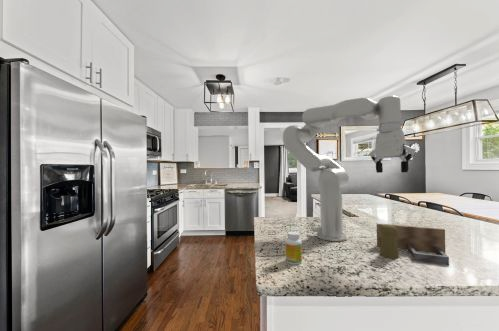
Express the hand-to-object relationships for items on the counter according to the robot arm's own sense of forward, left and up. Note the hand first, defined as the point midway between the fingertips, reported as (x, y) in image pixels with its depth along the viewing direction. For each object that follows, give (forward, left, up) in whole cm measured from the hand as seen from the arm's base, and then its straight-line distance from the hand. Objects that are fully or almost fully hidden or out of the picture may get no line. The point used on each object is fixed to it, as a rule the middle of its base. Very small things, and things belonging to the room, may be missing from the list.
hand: (391, 172), depth 92 cm
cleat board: (+6, -3, -30) cm, 31 cm away
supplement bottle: (-32, -27, -30) cm, 52 cm away
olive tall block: (-2, -8, -30) cm, 31 cm away
